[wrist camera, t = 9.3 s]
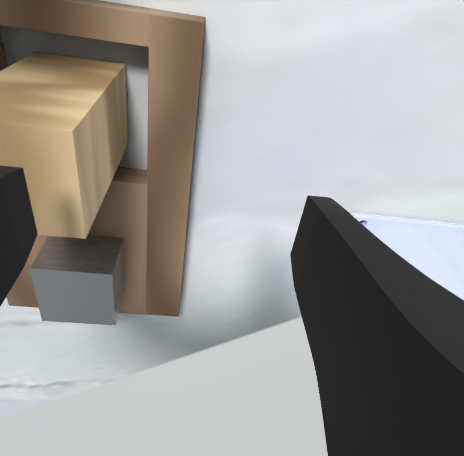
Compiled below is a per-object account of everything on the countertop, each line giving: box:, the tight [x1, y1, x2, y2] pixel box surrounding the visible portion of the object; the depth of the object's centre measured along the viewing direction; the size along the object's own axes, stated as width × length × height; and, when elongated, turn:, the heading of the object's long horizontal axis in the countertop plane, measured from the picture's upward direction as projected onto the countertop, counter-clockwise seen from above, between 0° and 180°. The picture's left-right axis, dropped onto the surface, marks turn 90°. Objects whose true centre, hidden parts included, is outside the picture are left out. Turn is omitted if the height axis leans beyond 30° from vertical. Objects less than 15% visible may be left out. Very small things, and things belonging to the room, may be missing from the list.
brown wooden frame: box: [0, 0, 205, 316], centre depth 20 cm, size 11×18×2 cm, turn 172°
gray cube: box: [30, 235, 126, 325], centre depth 22 cm, size 4×4×4 cm
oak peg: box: [0, 52, 128, 239], centre depth 15 cm, size 4×4×8 cm
